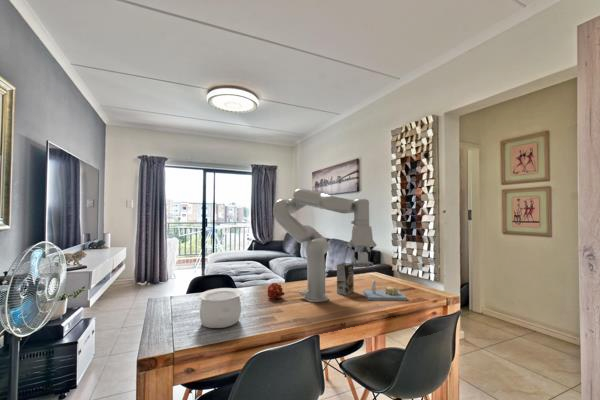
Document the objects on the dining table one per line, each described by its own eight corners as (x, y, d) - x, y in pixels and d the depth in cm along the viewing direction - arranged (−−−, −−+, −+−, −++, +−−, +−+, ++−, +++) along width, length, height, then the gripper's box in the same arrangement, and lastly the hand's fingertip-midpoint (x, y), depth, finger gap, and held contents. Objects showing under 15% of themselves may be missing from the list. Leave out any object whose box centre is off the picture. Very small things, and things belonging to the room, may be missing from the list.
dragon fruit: (273, 297, 158) (279, 307, 147) (261, 290, 155) (266, 299, 144) (282, 284, 159) (288, 293, 148) (271, 277, 156) (276, 285, 145)
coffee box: (346, 295, 156) (346, 266, 156) (336, 293, 159) (336, 264, 160) (354, 291, 163) (353, 263, 163) (344, 289, 167) (344, 262, 167)
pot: (196, 317, 124) (196, 289, 125) (235, 311, 131) (236, 285, 132) (201, 338, 104) (201, 304, 105) (247, 329, 111) (247, 298, 112)
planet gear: (353, 267, 137) (353, 254, 137) (349, 263, 147) (349, 251, 147) (375, 267, 136) (375, 254, 137) (370, 263, 147) (370, 251, 147)
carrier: (368, 300, 147) (368, 283, 147) (363, 292, 161) (362, 277, 161) (407, 300, 146) (406, 283, 147) (398, 292, 160) (398, 277, 161)
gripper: (345, 223, 139) (346, 260, 138) (380, 223, 139) (381, 261, 138) (343, 223, 147) (344, 258, 146) (376, 223, 146) (377, 258, 145)
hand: (362, 259), depth 142 cm, fingers closed on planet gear, 4 cm apart
